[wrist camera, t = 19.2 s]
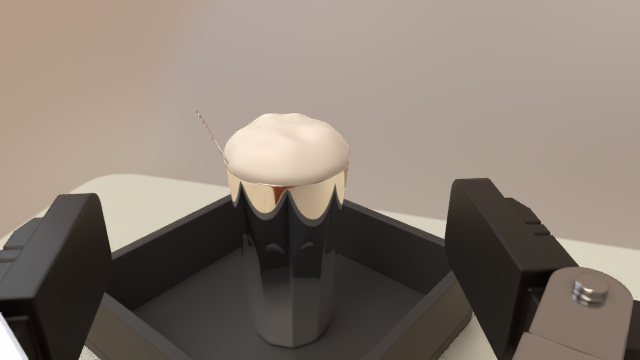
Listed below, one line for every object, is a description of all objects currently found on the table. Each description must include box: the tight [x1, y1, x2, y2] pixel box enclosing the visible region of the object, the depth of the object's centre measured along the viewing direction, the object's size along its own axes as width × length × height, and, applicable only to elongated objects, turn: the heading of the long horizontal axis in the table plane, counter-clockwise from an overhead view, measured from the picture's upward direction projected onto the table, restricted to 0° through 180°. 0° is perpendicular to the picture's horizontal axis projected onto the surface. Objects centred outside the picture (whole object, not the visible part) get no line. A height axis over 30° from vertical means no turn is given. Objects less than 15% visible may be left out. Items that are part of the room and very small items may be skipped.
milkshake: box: [196, 111, 350, 348], centre depth 21 cm, size 4×5×10 cm
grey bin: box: [84, 194, 472, 360], centre depth 23 cm, size 12×12×4 cm
